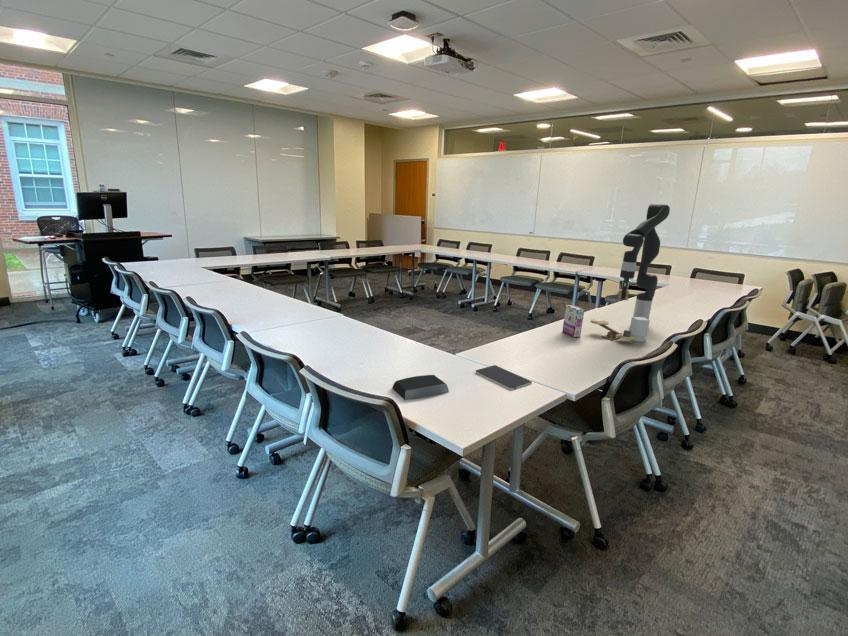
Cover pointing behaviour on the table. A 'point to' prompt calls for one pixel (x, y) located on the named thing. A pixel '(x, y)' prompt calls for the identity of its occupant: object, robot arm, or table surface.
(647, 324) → the supplement box
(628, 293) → the walnut block
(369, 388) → the table surface
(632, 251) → the robot arm
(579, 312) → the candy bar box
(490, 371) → the notebook
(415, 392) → the external hard drive
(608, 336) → the balance
